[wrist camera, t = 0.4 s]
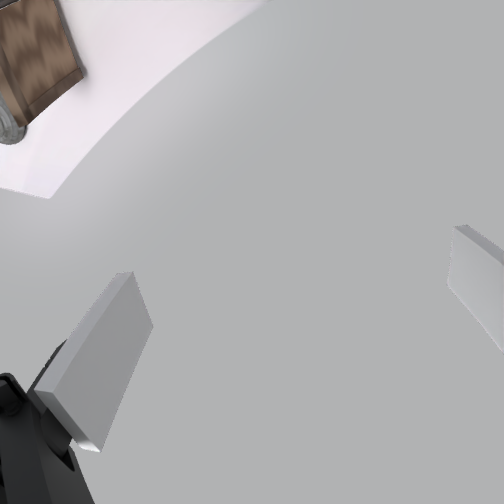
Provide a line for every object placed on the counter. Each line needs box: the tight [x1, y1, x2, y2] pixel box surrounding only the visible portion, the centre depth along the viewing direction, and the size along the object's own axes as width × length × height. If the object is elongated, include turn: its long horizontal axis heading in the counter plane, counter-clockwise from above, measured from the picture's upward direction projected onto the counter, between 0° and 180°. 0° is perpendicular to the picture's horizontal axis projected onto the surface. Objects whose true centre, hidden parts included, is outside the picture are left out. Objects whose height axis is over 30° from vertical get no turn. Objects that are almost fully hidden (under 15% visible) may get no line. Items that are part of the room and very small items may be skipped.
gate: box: [0, 0, 84, 128], centre depth 27 cm, size 19×2×13 cm, turn 8°
